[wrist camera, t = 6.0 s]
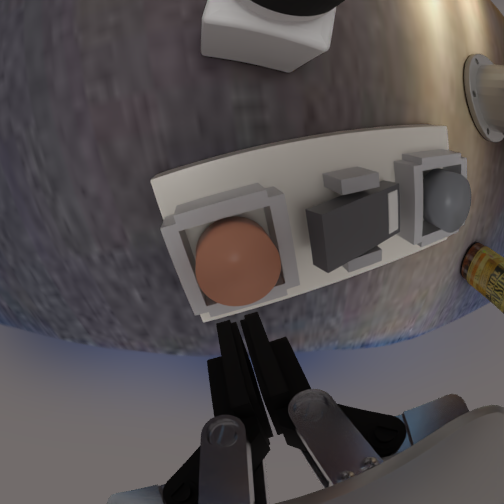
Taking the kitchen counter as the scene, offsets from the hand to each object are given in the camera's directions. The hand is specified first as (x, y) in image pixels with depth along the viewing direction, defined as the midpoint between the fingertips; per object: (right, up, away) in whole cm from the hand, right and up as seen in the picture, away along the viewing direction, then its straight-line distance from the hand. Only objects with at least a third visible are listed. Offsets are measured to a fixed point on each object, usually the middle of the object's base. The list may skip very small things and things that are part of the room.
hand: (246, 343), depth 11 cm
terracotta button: (-1, +4, +7) cm, 8 cm away
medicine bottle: (0, +21, +5) cm, 22 cm away
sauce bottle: (+33, +2, +20) cm, 39 cm away
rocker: (+8, +6, +7) cm, 12 cm away
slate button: (+16, +9, +9) cm, 20 cm away
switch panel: (+7, +8, +12) cm, 16 cm away
